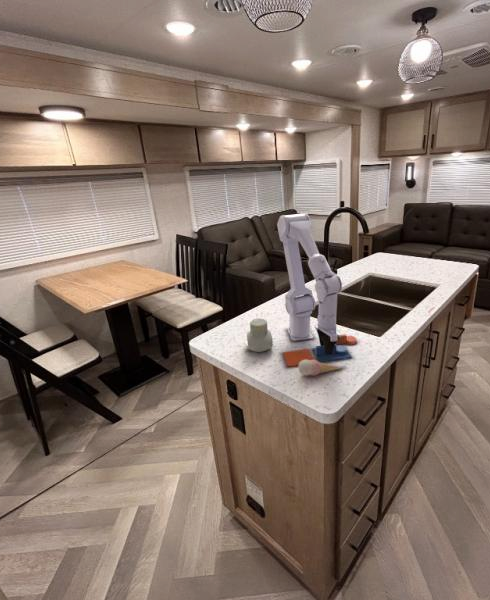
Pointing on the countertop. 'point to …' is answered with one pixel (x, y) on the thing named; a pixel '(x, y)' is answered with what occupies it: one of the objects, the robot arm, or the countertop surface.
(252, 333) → the air freshener
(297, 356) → the terracotta mat
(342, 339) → the terracotta spoon
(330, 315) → the robot arm
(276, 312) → the countertop surface
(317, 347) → the blue spoon
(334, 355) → the blue mat
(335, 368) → the ice cream cone
